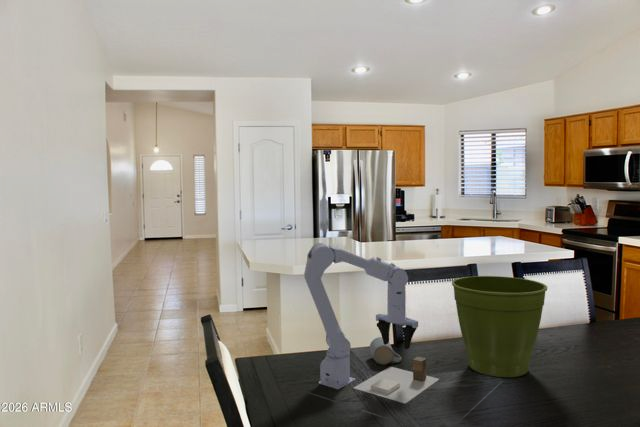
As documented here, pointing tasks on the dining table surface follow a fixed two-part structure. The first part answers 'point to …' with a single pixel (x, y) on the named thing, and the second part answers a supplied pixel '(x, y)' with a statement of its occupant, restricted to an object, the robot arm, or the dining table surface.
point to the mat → (407, 384)
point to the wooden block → (419, 369)
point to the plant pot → (499, 322)
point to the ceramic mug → (383, 352)
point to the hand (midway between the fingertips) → (396, 346)
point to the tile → (385, 386)
